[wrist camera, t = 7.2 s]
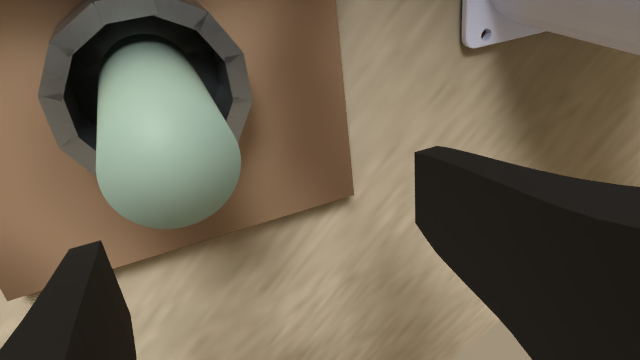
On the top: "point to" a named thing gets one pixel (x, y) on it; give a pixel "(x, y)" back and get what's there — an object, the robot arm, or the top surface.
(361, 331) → the top surface
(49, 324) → the robot arm
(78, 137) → the cup bracket
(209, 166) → the peg
